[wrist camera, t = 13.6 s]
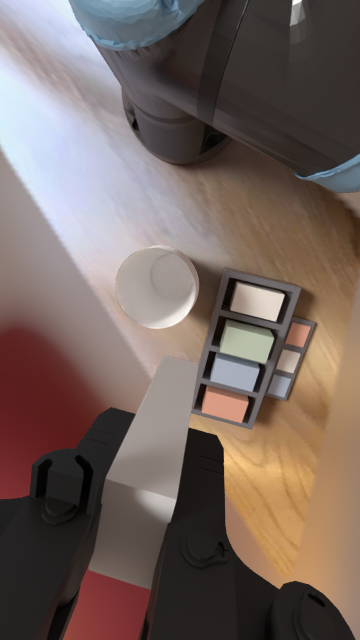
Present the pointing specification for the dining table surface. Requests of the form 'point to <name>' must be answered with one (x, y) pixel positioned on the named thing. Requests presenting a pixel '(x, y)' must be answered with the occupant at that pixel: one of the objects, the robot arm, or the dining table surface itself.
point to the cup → (157, 286)
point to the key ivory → (256, 300)
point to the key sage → (246, 341)
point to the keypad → (265, 369)
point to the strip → (289, 358)
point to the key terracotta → (224, 403)
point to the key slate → (234, 372)
